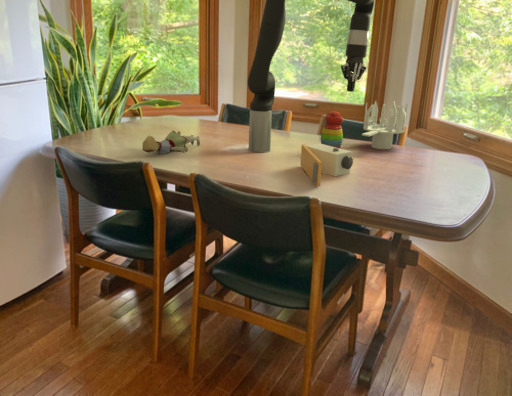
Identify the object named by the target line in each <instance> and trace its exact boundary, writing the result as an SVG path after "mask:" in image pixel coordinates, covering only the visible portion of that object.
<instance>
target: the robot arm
mask: <svg viewBox="0 0 512 396" xmlns="http://www.w3.org/2000/svg"><path fill="white" fill-rule="evenodd" d="M347 1H349V2H352V3H354V4H355V5H354V11H353V14H352V15H351V19H350V25H349V30H348V34H347V41H346V49H345V56H346V57H347V58H346V60H345V64H343V65H341V66H340V69H341V72H342V76H343V78H344V80H346V81H347V85H346V91H347V92H349V93H350V92H351V93H352V92H355V87H356V82H357V81H360V80H361V78H362V76H363V75H364V73H365V71H366V70H367V66H364V59H365V58H366V56H367V51H368V44H369V37H370V36H369V32H370V25H371V19H372V15H373V10H374V6H375V3H376V2H375V1H376V0H347ZM285 25H286V0H265V4H264V9H263V13H262V18H261V23H260V27H259V32H258V37H257V43H256V47H255V48H256V49H255V53H254V57H253V61H252V65H251V67H250V71H249V74H248V78H247V87H248V89H249V91H250V92H251V94H253V99H252V100H251V102H250V103H249V129H248V152H254V153H267V152H268V153H269V152H270V151H271V142H272V141H271V140H272V139H271V137H272V113H273V105H274V102H275V95H276V94H275V92H276V80H275V75H274V74H273V73H272V72H271V71H270V68H271V64H272V61H273V58H274V56H275V54H276V52H277V50H278V48H279V46H280V44H281V42H282V39H283V35H284V30H285Z"/></svg>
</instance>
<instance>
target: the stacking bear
mask: <svg viewBox="0 0 512 396" xmlns="http://www.w3.org/2000/svg"><path fill="white" fill-rule="evenodd" d="M344 121H345V120H344V117H342V115H341V113H340V112H339V111H335V110H331V111H329V112H327V114H326V116H325V122H326V124H325V125H324V126H323V128H322V131H321V133H320V144H324V145H328V146H332V147H336V148H339V149H343V150H344V148H343V147H342V143H343V140H344V133H343V128H342V127H343V126H342V125H341V124H342V123H344Z"/></svg>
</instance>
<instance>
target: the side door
mask: <svg viewBox="0 0 512 396" xmlns="http://www.w3.org/2000/svg"><path fill="white" fill-rule="evenodd" d="M300 149H301V151H300V164H299V165H300V167H301V168H302V169H303V171H304V172H305V173H306V175H308V177H309V178H310V180H311V181H313V183H314V184H315V185H316V186H317V187H321V179H322V172H321V167H322V162H321V161H320V160H319V159H318V158H317V157H316V156H315V155H314V154H313V153H312V152H311V151H310V150H309V149H308V148H307V147H306V145H305V144H301V148H300Z"/></svg>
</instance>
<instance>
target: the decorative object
mask: <svg viewBox="0 0 512 396" xmlns="http://www.w3.org/2000/svg"><path fill="white" fill-rule="evenodd" d="M364 110H365V111H364V118H363V119H364V121H363V130H365V131H367V132H364V133H361V136H362V137H363V136H364V137H372V139H371V147H372V148H374V149H378V150H391V149H392V148H393V140H394V135H395V134H396V135H398V134H402V133H405V129H406V124H407V123H406V121H407V115H408V103H406V104H405V106H404V108H403V105H401V106H400V105H397V107H396V103H395V100H394V101H393V103H392V105H391V107H390V108H389V110H388V119H387V118H386V110H387V104H382V108H381V114H380V117H379V120H378V116H379V107H378V103H377V100H375V101H374V104H371V105H370V107H369V108H368V102H367V101H366V102H365V109H364ZM397 110H398V112H397ZM378 121H379V124H378Z"/></svg>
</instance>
